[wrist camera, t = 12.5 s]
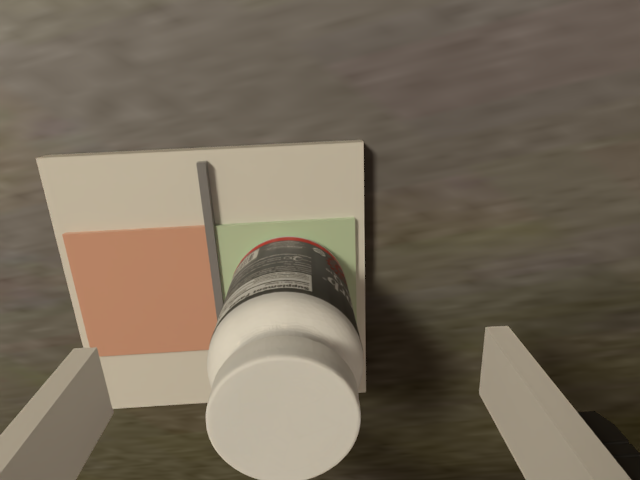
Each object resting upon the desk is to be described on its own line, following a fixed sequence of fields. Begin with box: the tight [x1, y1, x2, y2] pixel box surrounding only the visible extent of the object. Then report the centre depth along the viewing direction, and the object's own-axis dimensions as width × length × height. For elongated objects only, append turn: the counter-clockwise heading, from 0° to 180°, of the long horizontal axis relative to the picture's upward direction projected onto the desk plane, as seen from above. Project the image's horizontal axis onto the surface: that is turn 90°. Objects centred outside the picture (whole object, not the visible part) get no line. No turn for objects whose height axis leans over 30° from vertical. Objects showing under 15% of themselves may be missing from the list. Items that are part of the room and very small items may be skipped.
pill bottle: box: [206, 236, 364, 480], centre depth 18 cm, size 6×6×10 cm
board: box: [36, 140, 366, 409], centre depth 23 cm, size 14×15×2 cm
